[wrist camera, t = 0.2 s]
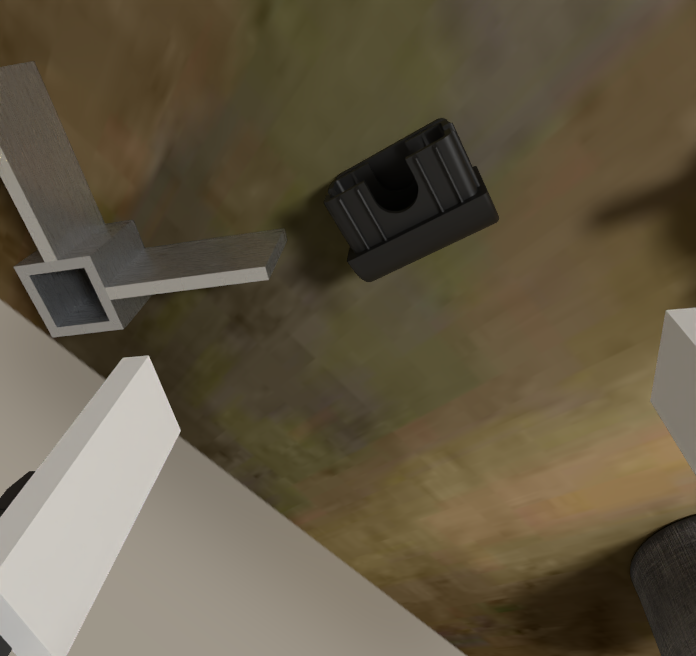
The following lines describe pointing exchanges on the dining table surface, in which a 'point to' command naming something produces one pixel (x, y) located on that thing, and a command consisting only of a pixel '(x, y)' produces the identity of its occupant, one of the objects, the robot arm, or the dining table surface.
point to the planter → (669, 586)
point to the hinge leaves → (97, 228)
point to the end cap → (409, 201)
